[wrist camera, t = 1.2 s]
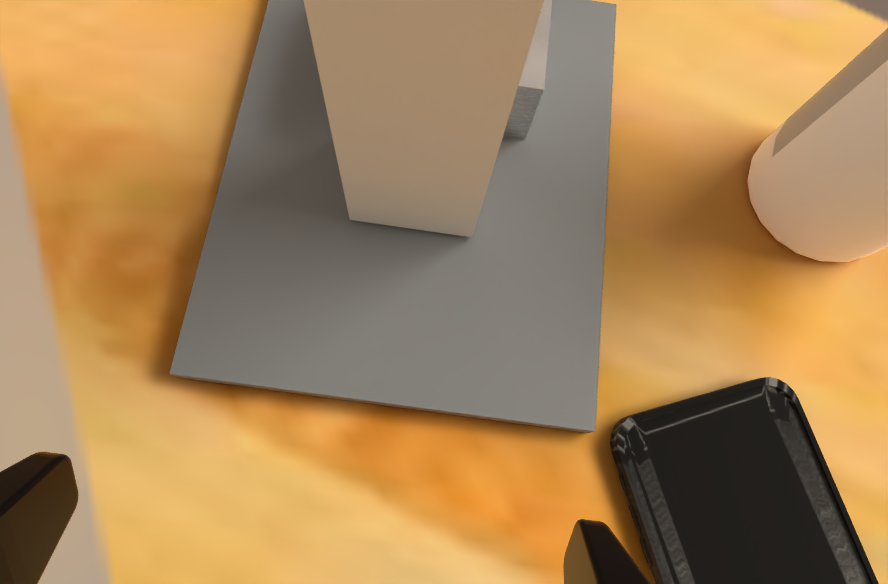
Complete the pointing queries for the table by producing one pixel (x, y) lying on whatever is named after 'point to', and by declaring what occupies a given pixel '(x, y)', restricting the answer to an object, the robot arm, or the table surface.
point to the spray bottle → (830, 166)
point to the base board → (410, 253)
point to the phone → (736, 492)
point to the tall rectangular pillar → (419, 102)
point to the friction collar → (531, 79)
